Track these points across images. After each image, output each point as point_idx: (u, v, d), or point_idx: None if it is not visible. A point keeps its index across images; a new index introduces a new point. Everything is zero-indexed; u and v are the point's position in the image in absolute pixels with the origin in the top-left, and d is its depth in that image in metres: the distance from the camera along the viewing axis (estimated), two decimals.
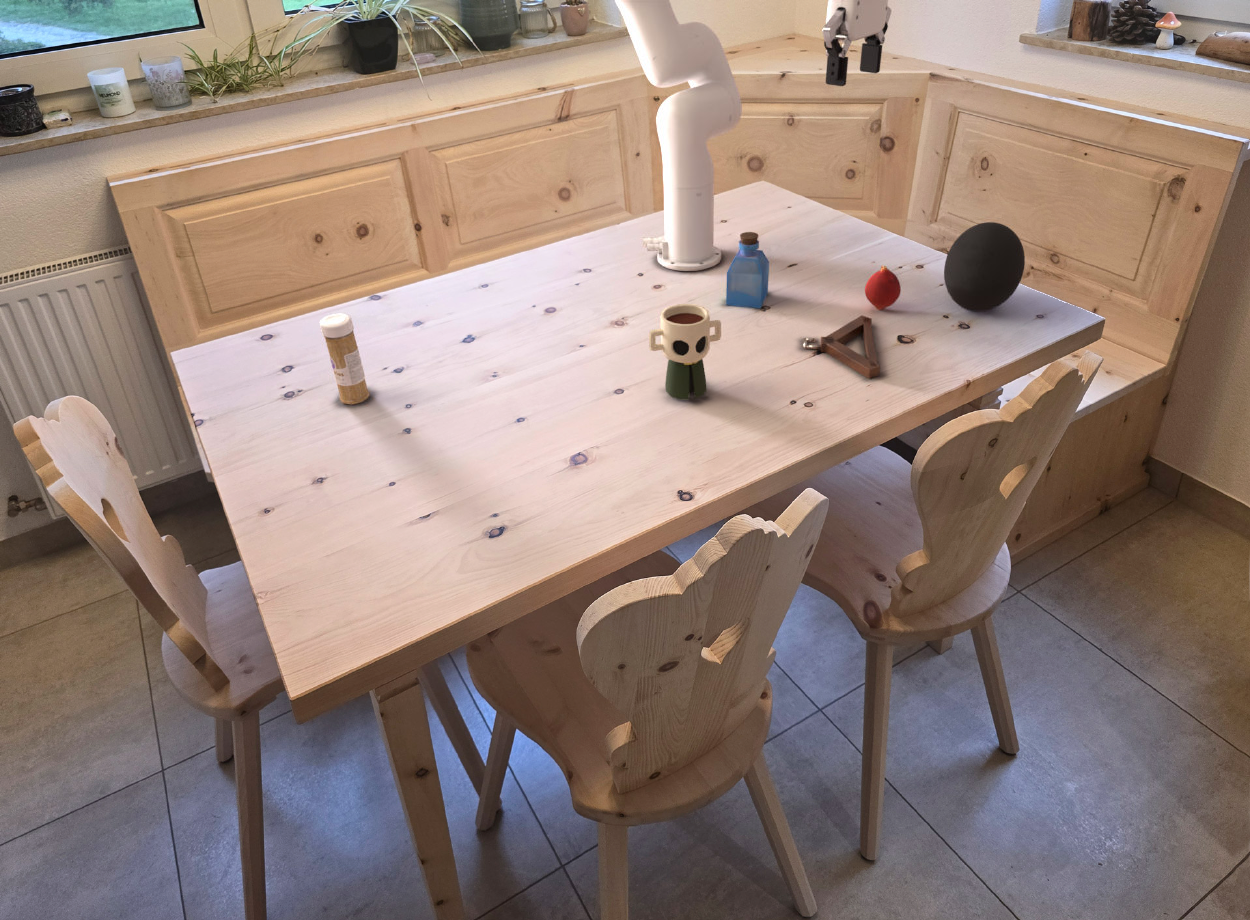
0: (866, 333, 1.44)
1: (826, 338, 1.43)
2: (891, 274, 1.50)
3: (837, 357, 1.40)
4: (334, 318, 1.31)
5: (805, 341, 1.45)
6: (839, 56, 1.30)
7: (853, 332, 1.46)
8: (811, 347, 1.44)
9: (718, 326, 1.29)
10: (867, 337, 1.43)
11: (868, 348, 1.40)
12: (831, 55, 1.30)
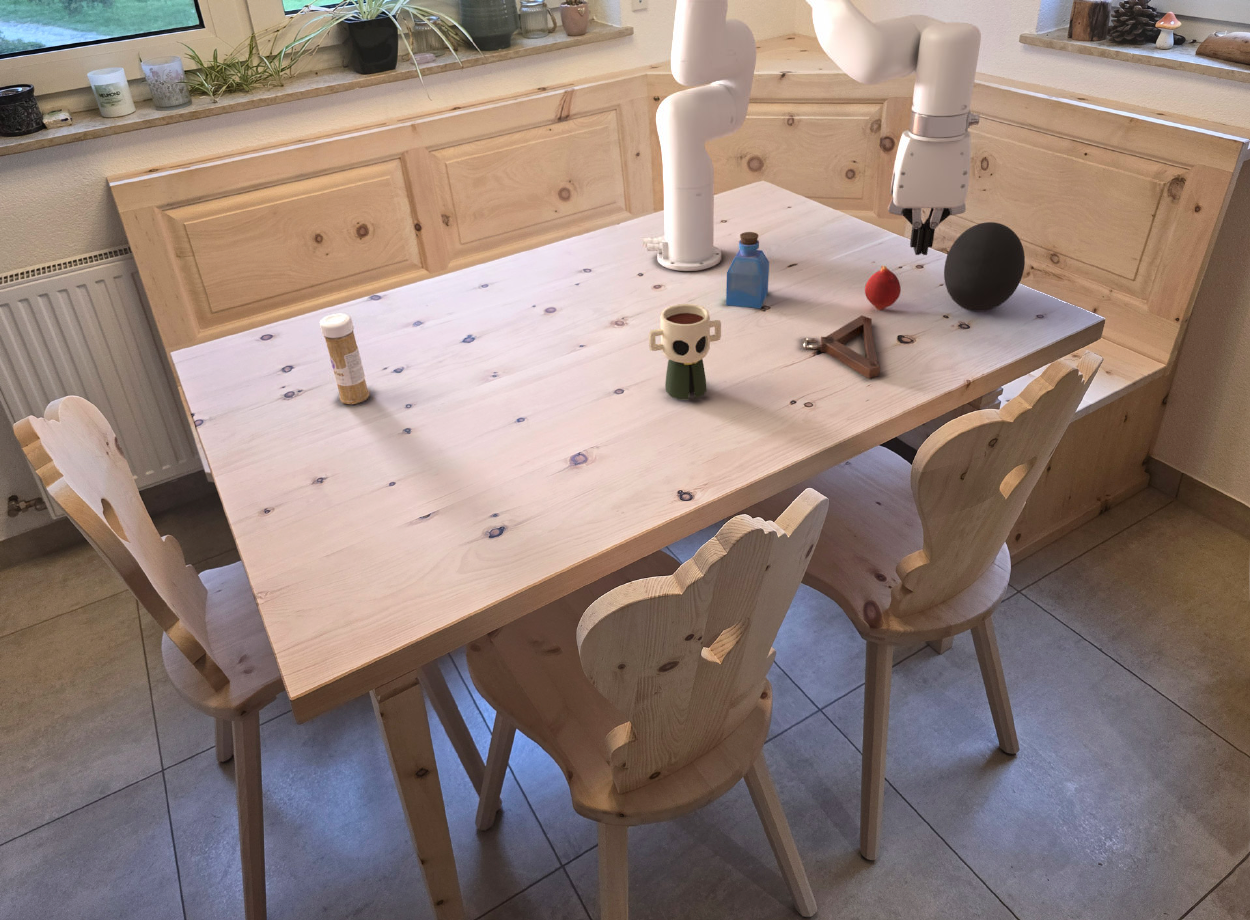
0: (866, 333, 1.44)
1: (826, 338, 1.43)
2: (891, 274, 1.50)
3: (837, 357, 1.40)
4: (334, 318, 1.31)
5: (805, 341, 1.45)
6: (913, 226, 1.29)
7: (853, 332, 1.46)
8: (811, 347, 1.44)
9: (718, 326, 1.29)
10: (867, 337, 1.43)
11: (868, 348, 1.40)
12: None
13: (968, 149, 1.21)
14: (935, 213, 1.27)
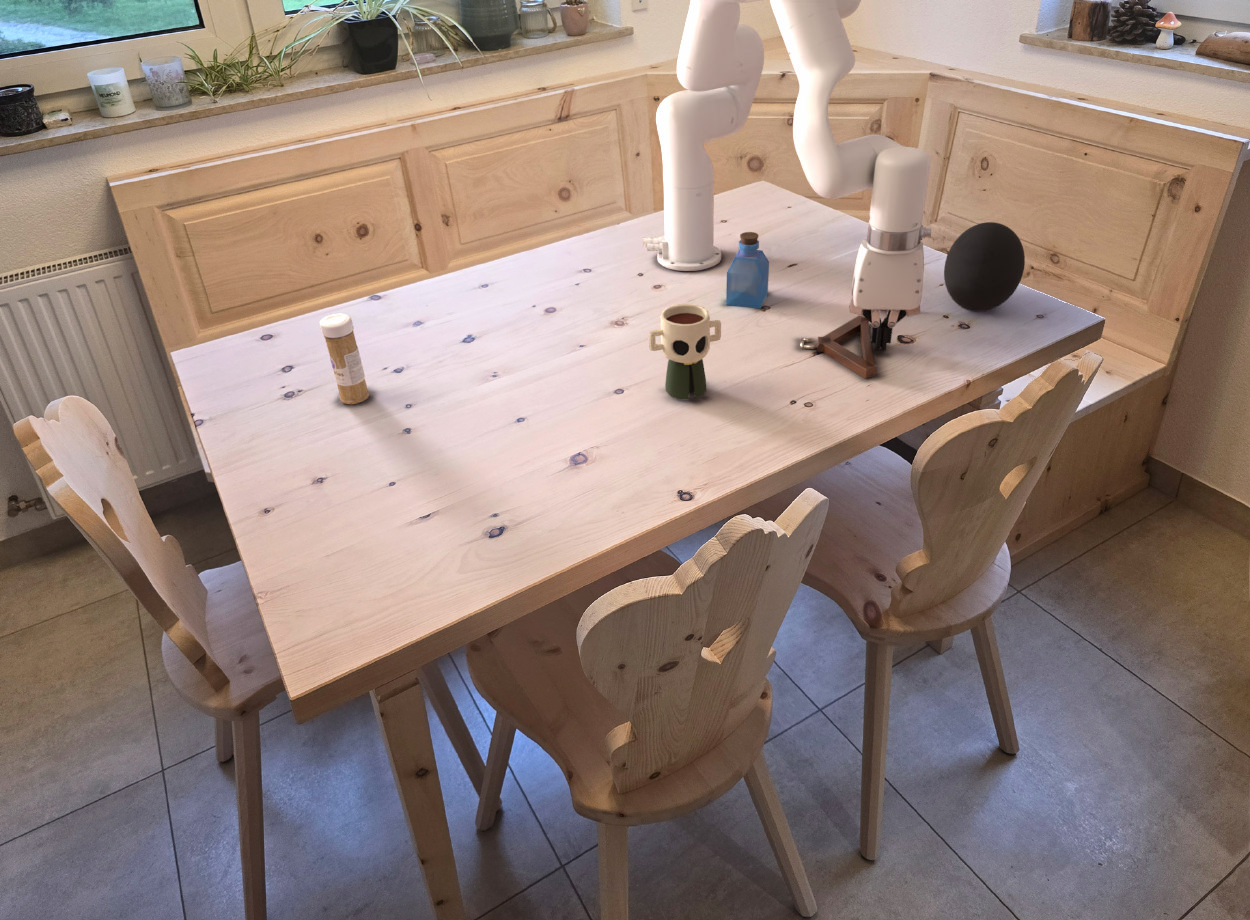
0: (863, 333, 1.44)
1: (823, 338, 1.43)
2: None
3: (834, 357, 1.41)
4: (334, 318, 1.31)
5: (802, 341, 1.45)
6: None
7: (851, 332, 1.46)
8: (808, 347, 1.44)
9: (718, 326, 1.29)
10: (864, 337, 1.43)
11: (865, 348, 1.40)
12: None
13: (921, 260, 1.31)
14: (892, 314, 1.37)
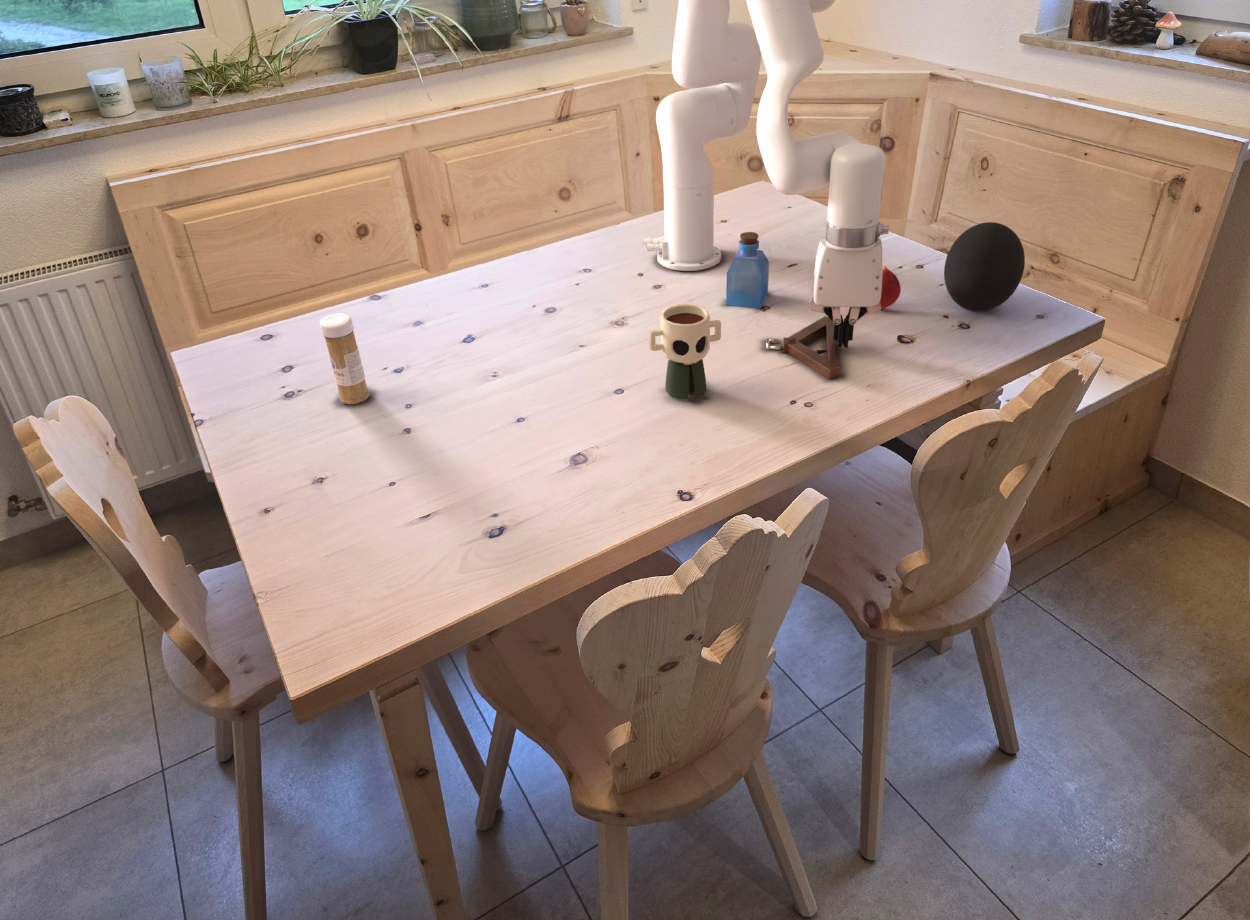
0: (828, 334, 1.44)
1: (788, 339, 1.44)
2: (891, 274, 1.50)
3: (799, 358, 1.41)
4: (334, 318, 1.31)
5: (768, 342, 1.45)
6: None
7: (816, 333, 1.46)
8: (773, 348, 1.44)
9: (718, 326, 1.29)
10: (829, 338, 1.43)
11: (829, 349, 1.40)
12: None
13: (879, 256, 1.32)
14: (853, 311, 1.38)
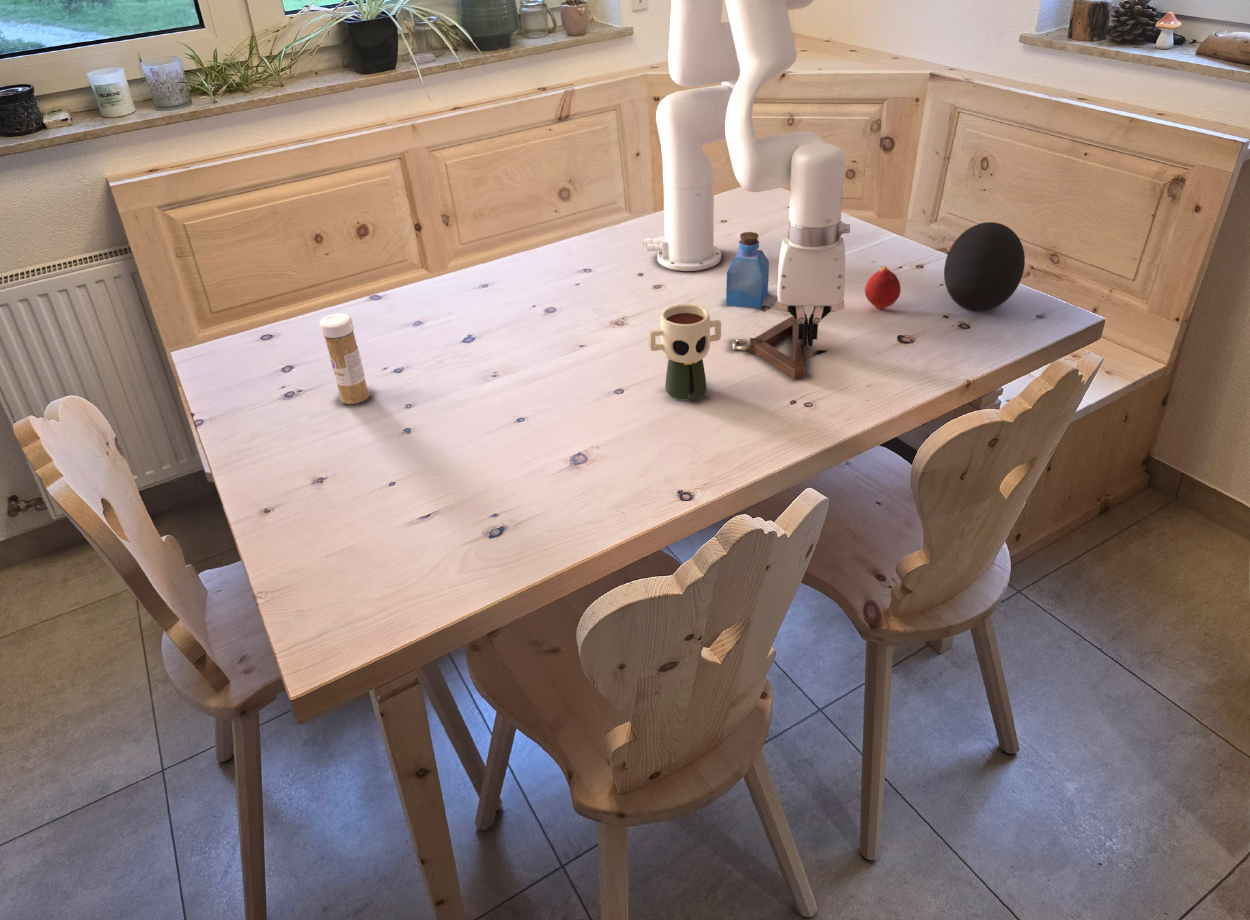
0: (794, 334, 1.45)
1: (755, 339, 1.44)
2: (891, 274, 1.50)
3: (765, 358, 1.41)
4: (334, 318, 1.31)
5: (734, 342, 1.46)
6: (798, 321, 1.40)
7: (782, 333, 1.47)
8: (740, 348, 1.44)
9: (718, 326, 1.29)
10: (795, 338, 1.44)
11: (795, 349, 1.41)
12: None
13: (841, 255, 1.32)
14: (817, 310, 1.38)
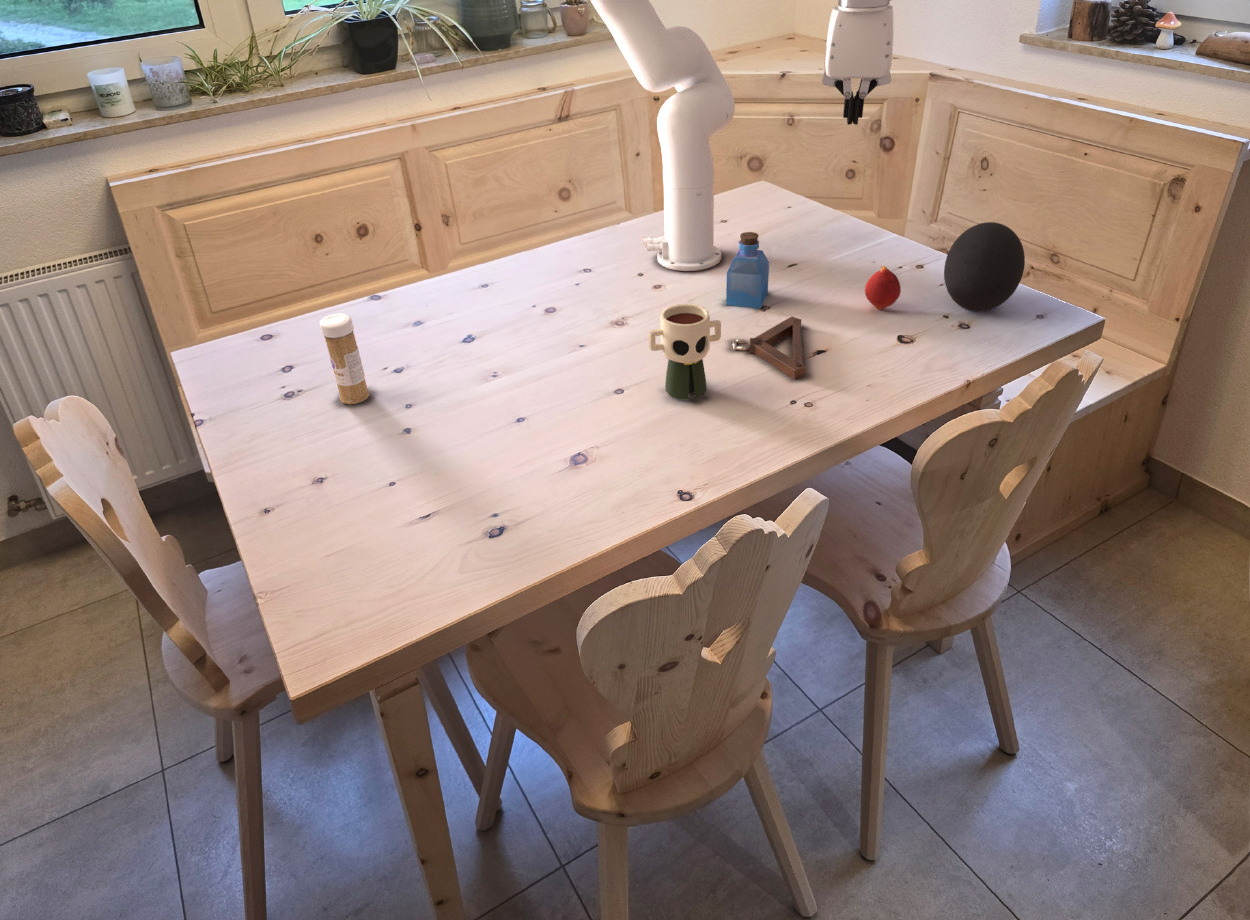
0: (794, 334, 1.45)
1: (755, 339, 1.44)
2: (891, 274, 1.50)
3: (765, 358, 1.41)
4: (334, 318, 1.31)
5: (734, 342, 1.46)
6: (844, 96, 1.43)
7: (782, 333, 1.47)
8: (740, 348, 1.44)
9: (718, 326, 1.29)
10: (795, 338, 1.44)
11: (795, 349, 1.41)
12: None
13: (890, 20, 1.35)
14: (863, 83, 1.41)
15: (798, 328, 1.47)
